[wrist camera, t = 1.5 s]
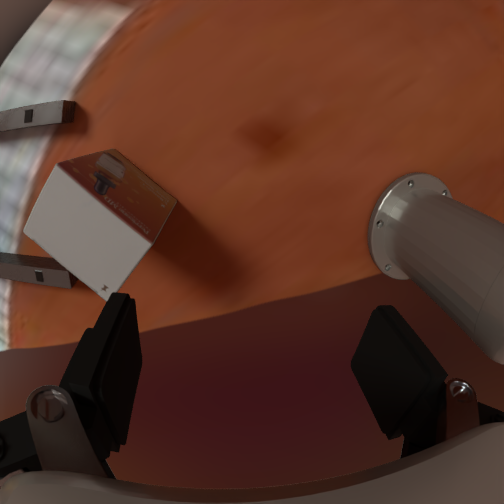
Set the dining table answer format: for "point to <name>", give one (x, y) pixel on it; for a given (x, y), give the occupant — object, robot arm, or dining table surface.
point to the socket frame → (25, 265)
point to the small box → (99, 218)
